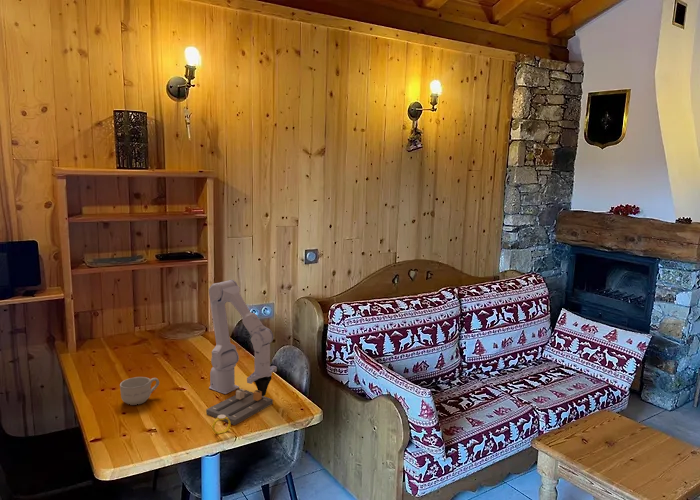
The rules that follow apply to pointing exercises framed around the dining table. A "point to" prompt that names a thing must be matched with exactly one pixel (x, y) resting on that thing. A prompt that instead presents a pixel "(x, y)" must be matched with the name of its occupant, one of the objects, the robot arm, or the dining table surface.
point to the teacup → (137, 389)
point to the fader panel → (239, 407)
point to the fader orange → (257, 395)
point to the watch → (219, 417)
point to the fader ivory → (239, 394)
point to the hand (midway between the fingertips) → (262, 394)
